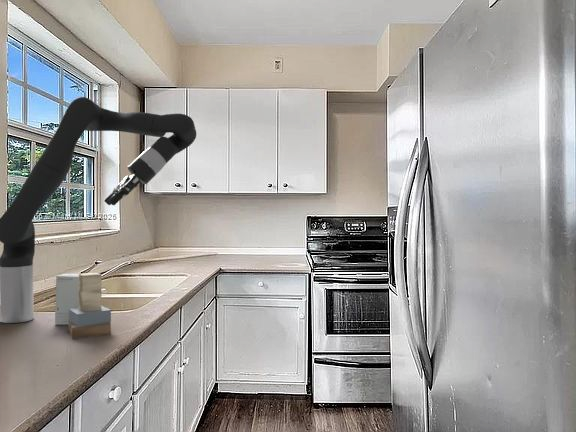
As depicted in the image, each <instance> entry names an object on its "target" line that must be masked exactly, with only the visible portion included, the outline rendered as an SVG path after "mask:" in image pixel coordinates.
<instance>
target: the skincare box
mask: <svg viewBox="0 0 576 432" xmlns="http://www.w3.org/2000/svg"><path fill="white" fill-rule="evenodd" d="M79 274H80V273H63V274H60V275H59V274H58V275H56V277H55V308H54V324H55V326H57V325H59V326H60V325H62V326H63V325H68V326H69V309H72V308H79Z"/></svg>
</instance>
